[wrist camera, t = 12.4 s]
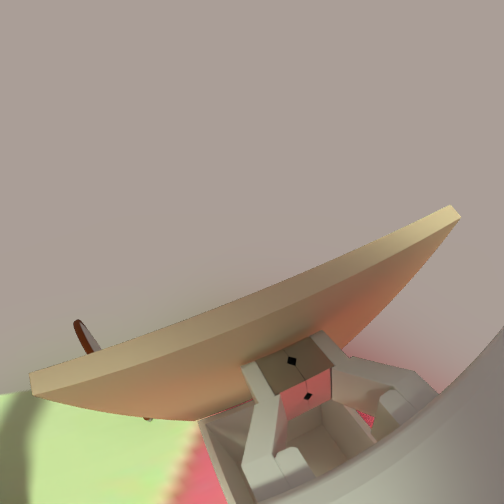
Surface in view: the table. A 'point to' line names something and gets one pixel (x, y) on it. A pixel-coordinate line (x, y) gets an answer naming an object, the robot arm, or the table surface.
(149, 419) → the magnifying glass
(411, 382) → the robot arm
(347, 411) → the carton
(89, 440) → the table surface
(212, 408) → the lid flap
